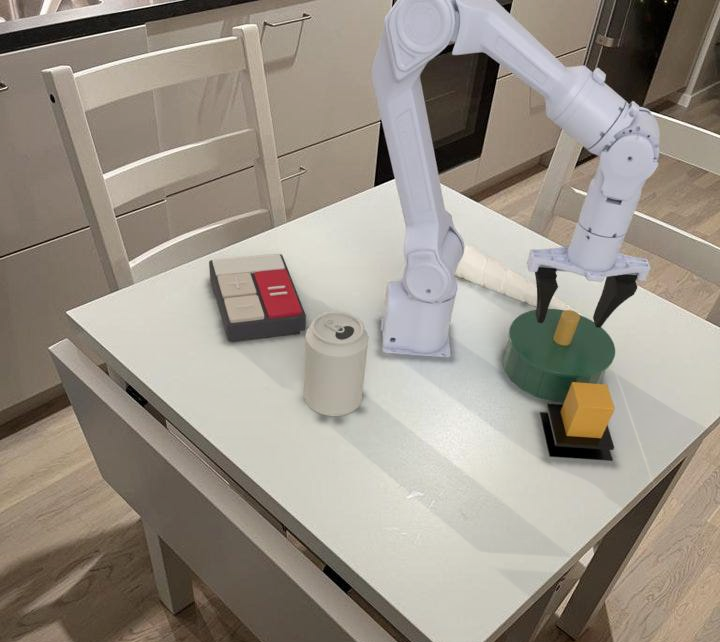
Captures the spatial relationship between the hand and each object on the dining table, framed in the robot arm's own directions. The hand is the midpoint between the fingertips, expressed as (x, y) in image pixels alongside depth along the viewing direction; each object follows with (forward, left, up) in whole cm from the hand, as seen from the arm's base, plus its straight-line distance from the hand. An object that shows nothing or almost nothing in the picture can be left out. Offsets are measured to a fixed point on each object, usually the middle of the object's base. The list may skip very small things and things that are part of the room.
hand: (568, 320), depth 96 cm
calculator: (-42, +10, -9) cm, 44 cm away
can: (-30, -9, -9) cm, 32 cm away
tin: (0, 0, -9) cm, 9 cm away
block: (+1, -13, -6) cm, 14 cm away
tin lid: (0, 0, -4) cm, 4 cm away
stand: (+1, -13, -9) cm, 16 cm away
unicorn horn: (-2, +18, -9) cm, 20 cm away
